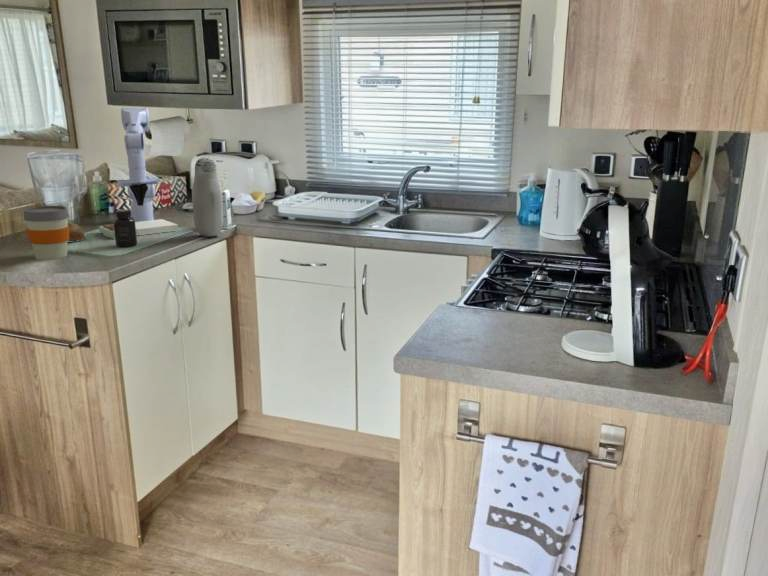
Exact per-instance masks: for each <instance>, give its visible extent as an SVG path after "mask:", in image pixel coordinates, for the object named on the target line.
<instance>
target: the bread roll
mask: <svg viewBox="0 0 768 576" xmlns="http://www.w3.org/2000/svg"><path fill="white" fill-rule="evenodd" d="M68 225H69V240H68V241H77V240H82V239H84V238H85V239H86V236H85V232H84V229H83V228H82V227H81V226H80V225H78V224H76V223H74V222H68ZM85 239H84V240H85ZM82 241H83V240H82ZM77 242H78V241H77Z"/></svg>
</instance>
